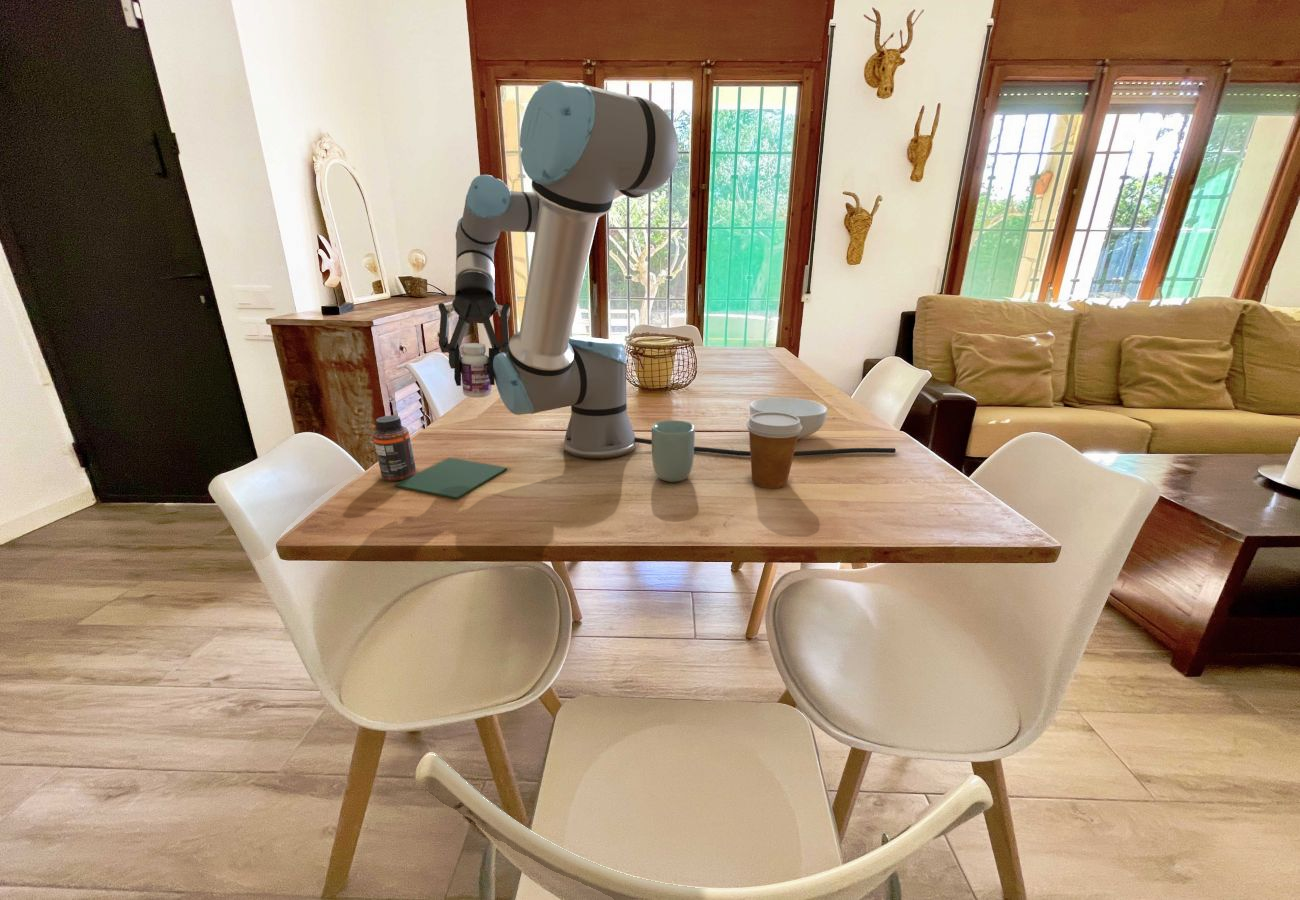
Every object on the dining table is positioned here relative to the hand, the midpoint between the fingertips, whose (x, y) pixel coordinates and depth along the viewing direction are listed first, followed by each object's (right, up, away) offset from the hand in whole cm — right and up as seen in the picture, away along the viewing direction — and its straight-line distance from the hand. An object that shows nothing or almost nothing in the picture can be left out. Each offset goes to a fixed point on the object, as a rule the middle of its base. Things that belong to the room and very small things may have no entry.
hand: (474, 381), depth 96 cm
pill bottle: (-1, -2, +5) cm, 5 cm away
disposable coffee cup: (+54, -19, -2) cm, 58 cm away
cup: (+37, -18, 0) cm, 41 cm away
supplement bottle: (-14, -18, +1) cm, 23 cm away
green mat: (-4, -18, 0) cm, 18 cm away
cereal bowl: (+64, -9, +23) cm, 69 cm away
